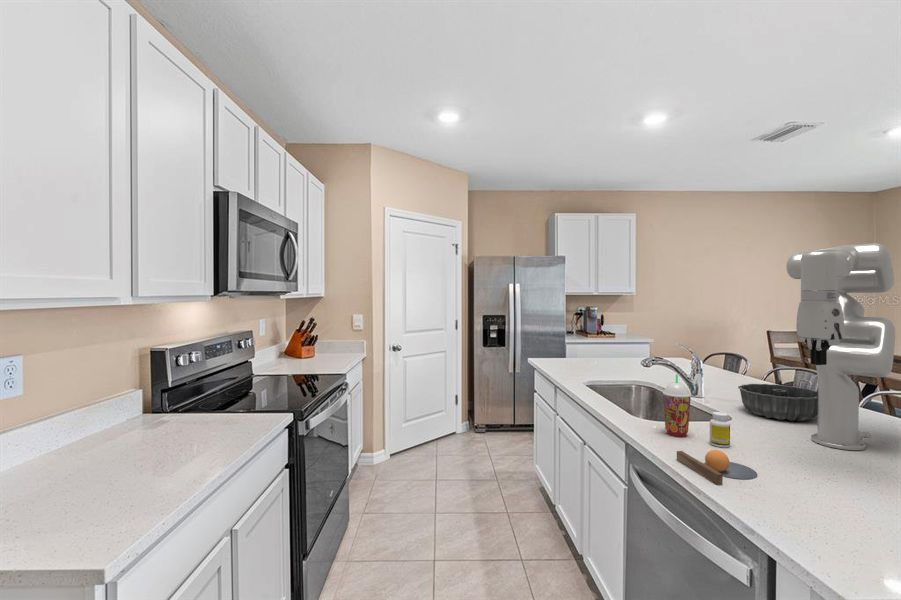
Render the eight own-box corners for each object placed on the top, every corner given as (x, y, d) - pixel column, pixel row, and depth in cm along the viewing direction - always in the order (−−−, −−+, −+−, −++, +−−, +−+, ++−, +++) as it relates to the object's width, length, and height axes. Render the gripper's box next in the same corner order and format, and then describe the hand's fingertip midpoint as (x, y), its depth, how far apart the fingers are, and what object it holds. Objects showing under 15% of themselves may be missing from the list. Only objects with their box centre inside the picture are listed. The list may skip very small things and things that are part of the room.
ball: (696, 458, 116) (710, 470, 117) (710, 466, 111) (725, 479, 111) (708, 442, 117) (722, 455, 117) (723, 449, 111) (738, 462, 112)
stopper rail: (681, 459, 122) (681, 450, 122) (722, 484, 106) (722, 474, 106) (676, 459, 122) (676, 451, 122) (716, 484, 106) (716, 474, 106)
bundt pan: (722, 407, 177) (722, 383, 177) (780, 405, 180) (780, 381, 180) (777, 427, 151) (777, 399, 151) (844, 424, 154) (844, 396, 154)
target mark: (733, 460, 121) (733, 459, 121) (769, 478, 109) (769, 477, 109) (693, 462, 120) (693, 461, 120) (725, 480, 108) (725, 479, 108)
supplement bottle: (733, 448, 130) (733, 416, 130) (713, 447, 131) (713, 415, 131) (725, 442, 136) (725, 411, 136) (706, 441, 137) (706, 410, 137)
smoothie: (657, 430, 148) (657, 372, 147) (680, 429, 148) (680, 372, 148) (672, 438, 139) (672, 377, 139) (696, 437, 140) (696, 376, 140)
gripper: (859, 297, 109) (859, 369, 110) (806, 296, 124) (806, 359, 125) (832, 298, 109) (832, 370, 109) (782, 297, 124) (782, 360, 124)
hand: (818, 364), depth 117 cm, fingers closed
